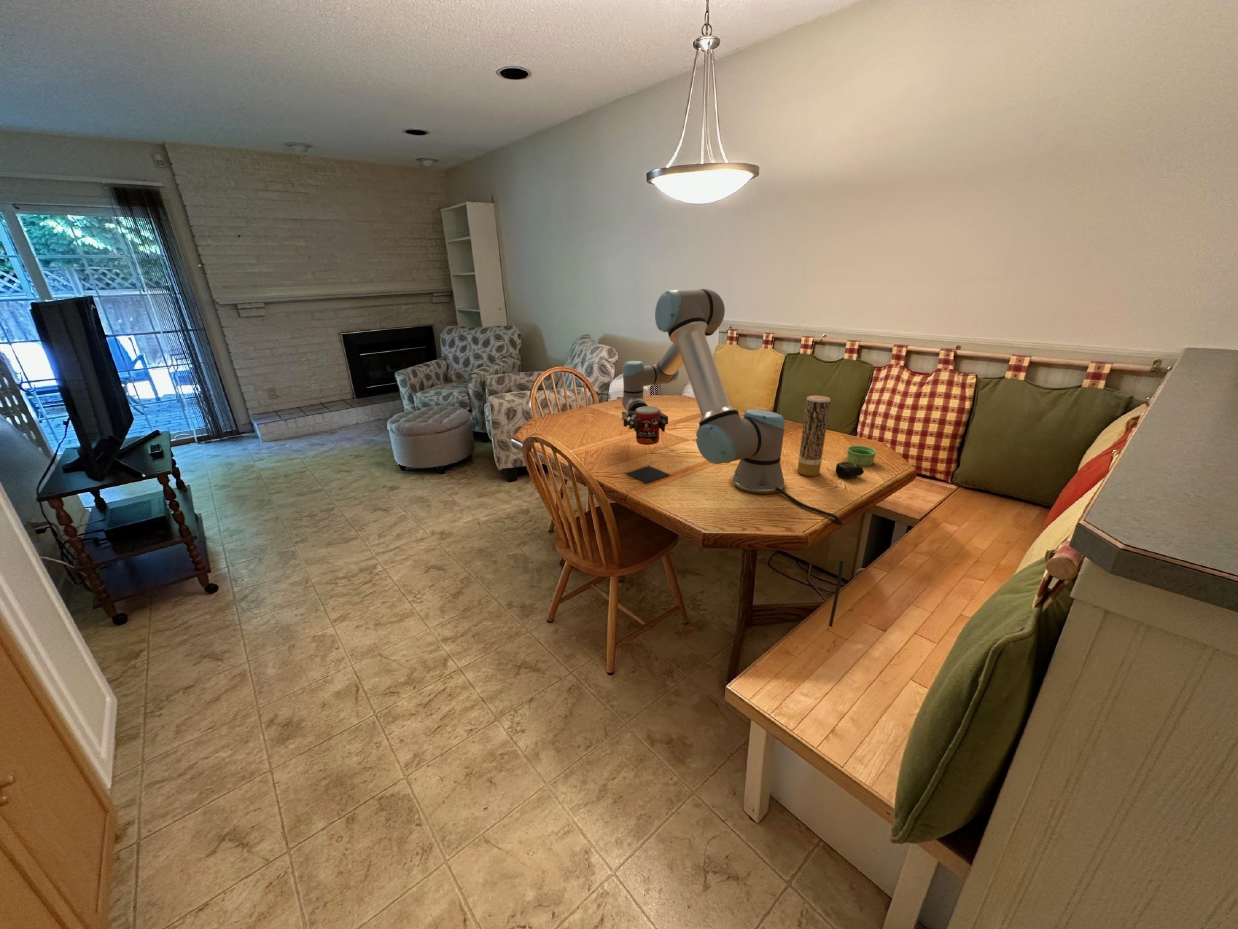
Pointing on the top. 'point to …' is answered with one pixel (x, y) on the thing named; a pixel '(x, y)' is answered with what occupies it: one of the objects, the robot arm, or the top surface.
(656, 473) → the coaster
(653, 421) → the canned food
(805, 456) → the paper tube
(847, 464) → the tape measure
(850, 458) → the ramekin
